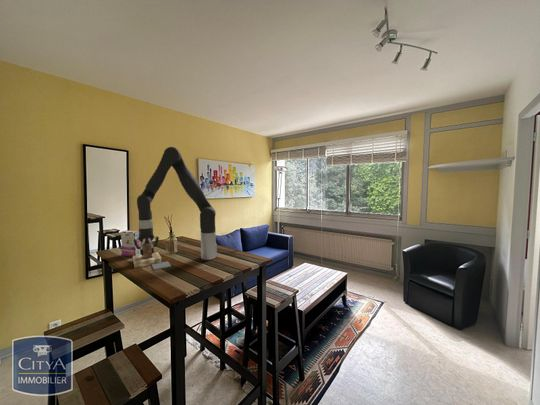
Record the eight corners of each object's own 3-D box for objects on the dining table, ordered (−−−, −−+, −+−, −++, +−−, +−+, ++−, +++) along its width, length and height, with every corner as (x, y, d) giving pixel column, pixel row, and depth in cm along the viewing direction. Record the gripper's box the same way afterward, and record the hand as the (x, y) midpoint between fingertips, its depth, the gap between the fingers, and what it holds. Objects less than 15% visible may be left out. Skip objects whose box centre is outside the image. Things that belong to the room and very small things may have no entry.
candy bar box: (141, 255, 149) (140, 231, 147) (135, 257, 144) (134, 232, 142) (127, 253, 151) (126, 229, 150) (121, 255, 147) (120, 231, 145)
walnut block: (151, 258, 140) (150, 241, 139) (152, 260, 136) (151, 243, 135) (142, 260, 137) (141, 242, 136) (143, 262, 133) (142, 244, 132)
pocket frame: (157, 256, 146) (157, 252, 146) (161, 263, 135) (161, 258, 135) (132, 260, 138) (132, 255, 138) (134, 267, 127) (134, 262, 127)
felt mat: (168, 262, 137) (168, 261, 137) (171, 266, 129) (171, 265, 129) (151, 265, 131) (151, 264, 131) (153, 270, 124) (153, 269, 124)
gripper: (157, 224, 142) (158, 250, 143) (131, 227, 134) (132, 254, 135) (159, 226, 136) (161, 253, 137) (132, 229, 127) (133, 258, 129)
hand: (147, 254), depth 136 cm, fingers closed on walnut block, 4 cm apart
